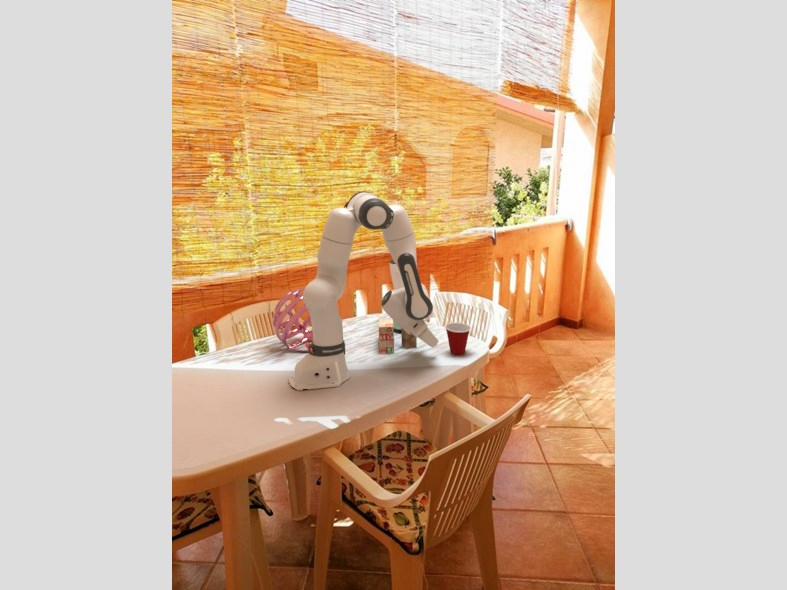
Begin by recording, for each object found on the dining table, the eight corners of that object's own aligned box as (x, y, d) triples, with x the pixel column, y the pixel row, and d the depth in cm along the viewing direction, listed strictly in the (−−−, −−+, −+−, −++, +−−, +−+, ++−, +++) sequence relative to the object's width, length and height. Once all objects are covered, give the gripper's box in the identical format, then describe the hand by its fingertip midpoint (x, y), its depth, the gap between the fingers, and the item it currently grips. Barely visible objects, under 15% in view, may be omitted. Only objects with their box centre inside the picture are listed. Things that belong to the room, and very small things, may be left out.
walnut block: (406, 349, 212) (405, 329, 210) (401, 345, 216) (401, 326, 214) (416, 347, 213) (416, 327, 211) (412, 344, 218) (411, 324, 216)
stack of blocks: (380, 338, 228) (379, 313, 225) (393, 338, 228) (392, 312, 225) (379, 354, 207) (378, 326, 204) (394, 353, 207) (393, 326, 204)
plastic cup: (458, 360, 197) (458, 331, 194) (439, 353, 205) (439, 326, 202) (476, 353, 204) (476, 326, 201) (457, 347, 212) (457, 320, 209)
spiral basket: (356, 304, 211) (312, 266, 219) (309, 336, 192) (263, 293, 200) (342, 343, 230) (302, 307, 238) (298, 375, 212) (256, 334, 219)
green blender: (424, 332, 233) (423, 260, 225) (398, 336, 229) (395, 262, 221) (409, 322, 251) (408, 254, 243) (385, 325, 247) (382, 257, 238)
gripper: (399, 321, 204) (421, 341, 209) (415, 336, 185) (438, 358, 190) (409, 310, 204) (431, 330, 209) (426, 324, 185) (449, 346, 190)
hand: (435, 344), depth 199 cm, fingers closed
